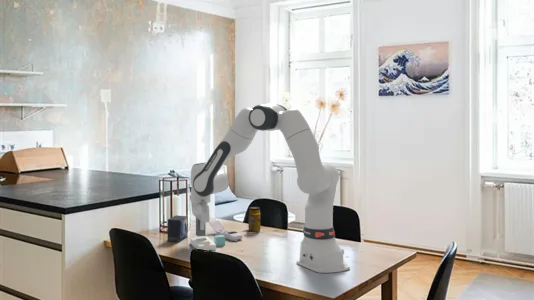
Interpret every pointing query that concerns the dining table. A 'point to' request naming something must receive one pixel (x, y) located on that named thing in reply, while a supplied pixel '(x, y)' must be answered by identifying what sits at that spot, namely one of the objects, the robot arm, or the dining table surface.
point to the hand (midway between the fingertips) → (200, 228)
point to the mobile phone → (225, 231)
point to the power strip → (203, 243)
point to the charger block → (198, 231)
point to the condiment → (254, 220)
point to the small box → (177, 228)
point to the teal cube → (219, 240)
